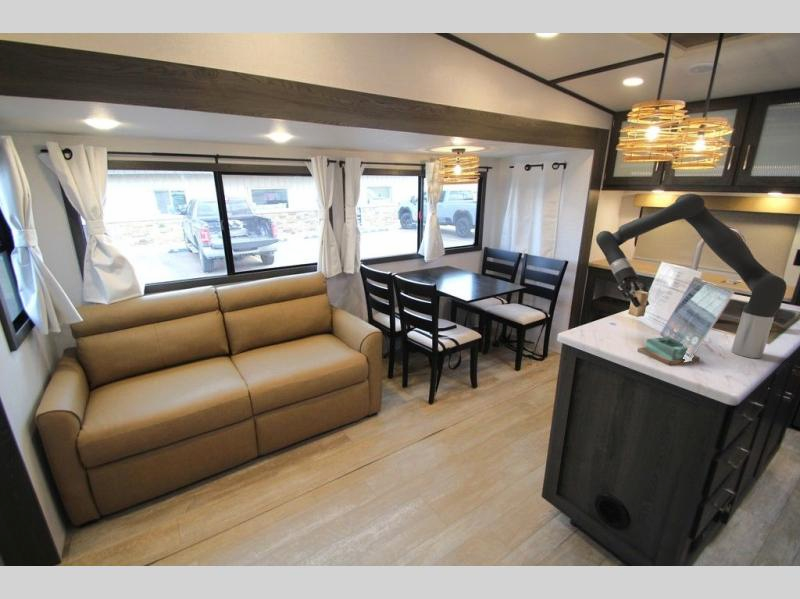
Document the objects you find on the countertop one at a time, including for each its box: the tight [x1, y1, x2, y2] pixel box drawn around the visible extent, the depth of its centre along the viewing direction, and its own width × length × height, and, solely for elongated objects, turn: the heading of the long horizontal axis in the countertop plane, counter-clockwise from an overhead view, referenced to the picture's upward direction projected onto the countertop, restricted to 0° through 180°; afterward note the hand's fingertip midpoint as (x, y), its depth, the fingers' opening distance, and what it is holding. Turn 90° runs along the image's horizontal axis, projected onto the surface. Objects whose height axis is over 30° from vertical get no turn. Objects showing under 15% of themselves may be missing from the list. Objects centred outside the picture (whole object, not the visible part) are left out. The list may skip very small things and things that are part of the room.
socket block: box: [637, 336, 701, 366], centre depth 145 cm, size 16×13×6 cm
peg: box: [627, 290, 650, 318], centre depth 152 cm, size 4×4×10 cm
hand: (642, 305), depth 150 cm, fingers closed on peg, 4 cm apart
